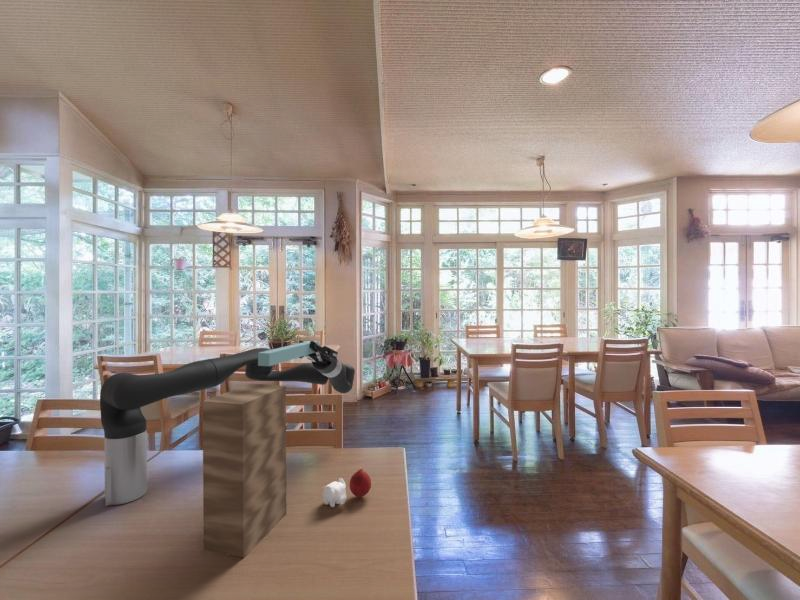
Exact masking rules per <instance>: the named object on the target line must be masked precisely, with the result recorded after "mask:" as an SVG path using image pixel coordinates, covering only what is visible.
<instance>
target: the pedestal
mask: <svg viewBox="0 0 800 600" xmlns="http://www.w3.org/2000/svg"><path fill="white" fill-rule="evenodd" d="M202 485H203V487H202V493H203V495H202V496H203V497H202V501H203V502H202V503H203V504H202V507H203V509H202V510H203V511H202V512H203V515H202V516H203V523H202V524H203V525H202V526H203V527H202V529H203V551H207V550H208V551H207V552H213V553H217V554H221V553H223V554H222V555H226V554H229V555H228V556H231V555H232V556H231V557H236V556H238V557H237V558H240V557H243V558H242V559H245V557H246V556H247V555H248V554H249V553H250V552H251V551H252V550H253V549H254V548H255V547H256V546H257V545H258V544H259V543H260V542H261V541H262V540H263V539H264V538H265V537H266V536H267V535H268V534H269V533H270V532H271V530H272V529H274V528H275V526H276V525H277V524H278V523H279V522H280V521H281V520H282V519H283V518H284V517H285V516H286V515H287V386H286V385H278V384H262V383H249V384H246V385H243V386H241V387H237V388H235V389H232V390H229V391H226V392H224V393H221V394H217V395H216V396H212V397H210V398H207V399H204V400H202Z"/></svg>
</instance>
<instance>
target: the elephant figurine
mask: <svg viewBox="0 0 800 600" xmlns="http://www.w3.org/2000/svg"><path fill="white" fill-rule="evenodd" d="M346 489H347V483H346V482H345V480H344V479H343V478H342V477H339V478H338V481H332V482H330V483H328V484H327V485H325V486H324V485H322V490H321V496H322V500H323V502H324V505H325V506H326V505H329V507H331V508H335V506H336V504H337V505H338V504H339V505H341V506H342V505H344V504H345V503H346V500H348V498H347V497H348V495H347V492H346Z"/></svg>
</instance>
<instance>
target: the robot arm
mask: <svg viewBox="0 0 800 600" xmlns="http://www.w3.org/2000/svg"><path fill="white" fill-rule="evenodd" d="M310 341H311V342H310V346H309V347H310V348H311V349H312V350H313V351H314V352H315V353H312V354H308V355H305V356H302V357H299V359H303V358H307V360H309V361H311V363H302V364H299V365H297V366H293V367H292V368H288V369H285V370H273V367H274V365H272V366H258V353H260V352H264V351H268V350H271V348H267V347H258V348H257V347H256V348H252V349H248V350H244V351H241V352H237V353H233V354H229V355H225V356H219V357H214V358H207V359H201V360H196V361H193V362H189V363H186V364H183V365H181V366H179V367H178V368H176V369H173V370H169V371H167V372H161V373H154V374H153V373H152V374H145V375H143V374H142V375H139V374H135V373H130V372H117V373H114V374H113V375H110V376H109V377H108V378H107V379H106V380H105V381H104V382H103V384H102V385H101V389H100V393H99V405H100V406H99V408H100V422H101V426H102V428H103V432H104V433H103V434H104V435H103V436H104V463H103V464H104V469H103V470H104V474H103V475H104V505H105V507H107V506H113V505H114V506H115V505H123V504H127V503H131V502H132V501H136V500H138V499H140V498H142V497H143V496H145V495H146V494H147V492H148V429H147V426H148V425H147V423H148V422H147V418H146V417H145V416H144V414H143V412H142V410H141V409H142V408H143V407H145V406H148V405H151V404H153V403H156V402H159V401H162V400H165V399H168V398H171V397H175V396H180V395H186V394H190V393H194V392H195V393H196V392H199V391H203V390H208V389H211V388H215V387H218V386H219V385H221V384H223V383H224V382H225V381H227V380H228V379H229V378H230V377H231V376H232V375H233V374H235V372H237V371H238V370H240V369H241V368H243V367H245V371H244V375H245V377H246V378H248V379H250V380H252V381H259V382H298V383H299V382H300V383H301V382H302V383H306V384H307V383H309V384H314V385H322V386H323V385H326V384H327V383H328V381H329V382H330V384H331V387H332V388H333V389H334V390H335V391H336V392H337V393H339V394H348V393H350V392H351V391H352V389H353V385H354V380H355V374H356V372H355V371H356V369H355V368H354V367H353V366H352V365H350V364H344V363H342V361H341V360H340V359H339V358H338V354H339V353H338V351H336V350H334V349H332V348H330V347H329V346H326V345H323V346H322V345H320V344H319V345H317V344H316V343H315V342H314V341H315V340H310ZM303 342H304V340H299V341H298V343H303Z"/></svg>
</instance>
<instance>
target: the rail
mask: <svg viewBox="0 0 800 600" xmlns="http://www.w3.org/2000/svg"><path fill="white" fill-rule="evenodd" d="M311 341H312V340H308V341H303V343H299V342H298V343H294V344H291V345H285V346H281V347H277V348H273V349H270V350H268V351H264V352H260V353H258V366H272V365H273V366H275V365H279V364H282V363H286V362H289V361H291V360H295V359H298V358H299V357H302V356H305V355H308V354H312V353H315V352H314V351H313V350H312V349H311V348H310V347H309V346H310V342H311ZM313 341H314V342H315V343H316V344H317V345H320V340H313ZM299 359H300V358H299Z"/></svg>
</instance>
